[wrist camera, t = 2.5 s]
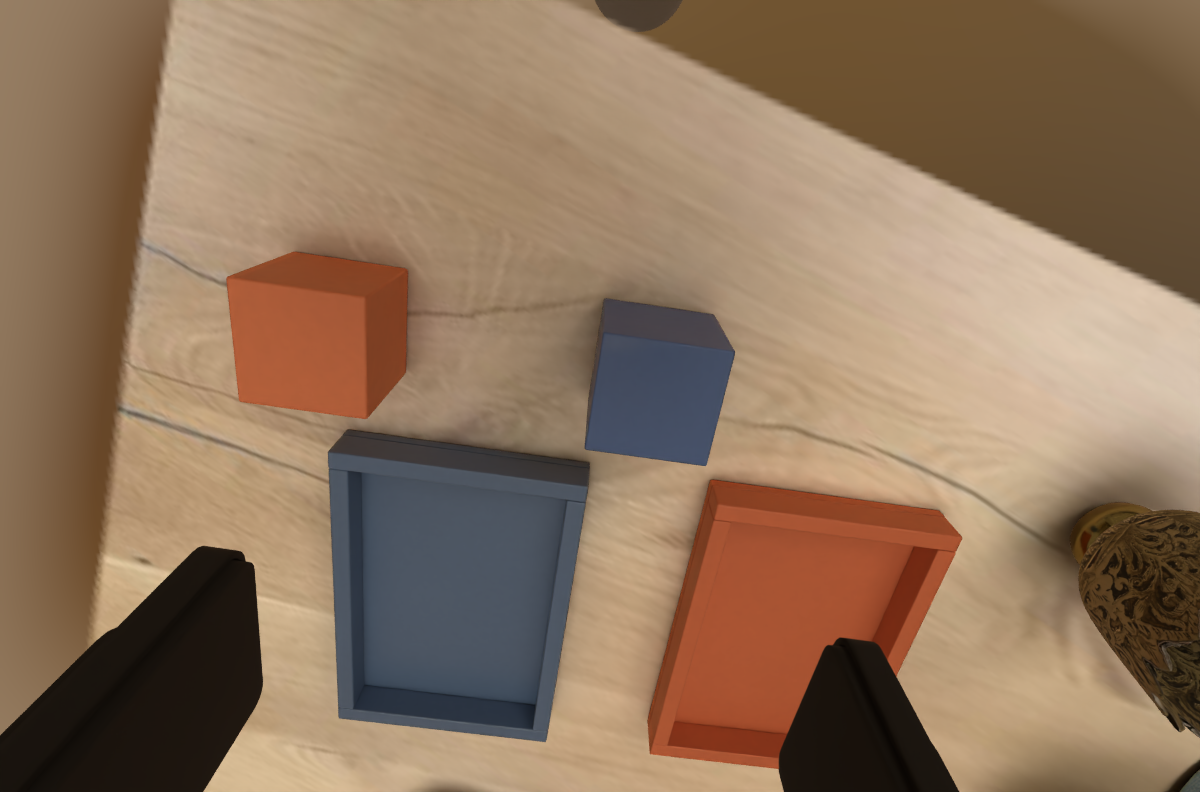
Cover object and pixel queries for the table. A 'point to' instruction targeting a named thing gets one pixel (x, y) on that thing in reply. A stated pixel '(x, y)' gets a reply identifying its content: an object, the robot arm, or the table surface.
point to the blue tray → (451, 582)
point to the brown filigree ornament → (1146, 598)
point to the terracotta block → (318, 333)
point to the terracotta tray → (785, 610)
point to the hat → (1192, 784)
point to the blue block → (657, 382)
